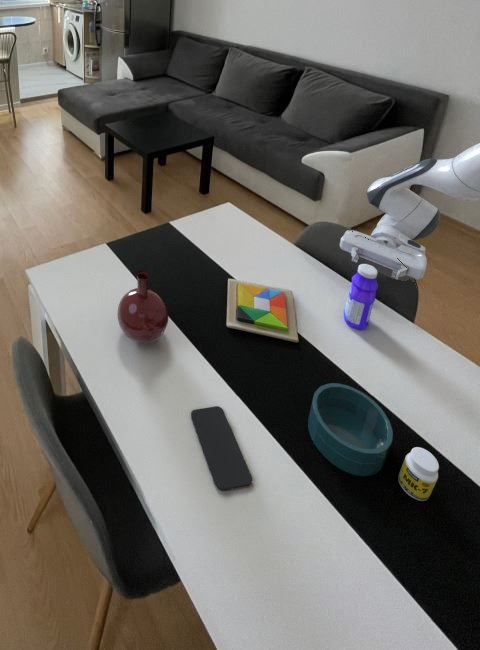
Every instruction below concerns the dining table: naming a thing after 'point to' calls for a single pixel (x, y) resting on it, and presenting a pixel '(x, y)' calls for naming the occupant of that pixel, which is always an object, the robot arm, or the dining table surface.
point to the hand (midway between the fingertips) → (374, 268)
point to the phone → (221, 449)
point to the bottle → (361, 297)
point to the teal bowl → (349, 429)
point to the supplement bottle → (419, 473)
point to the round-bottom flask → (142, 312)
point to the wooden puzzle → (261, 310)
